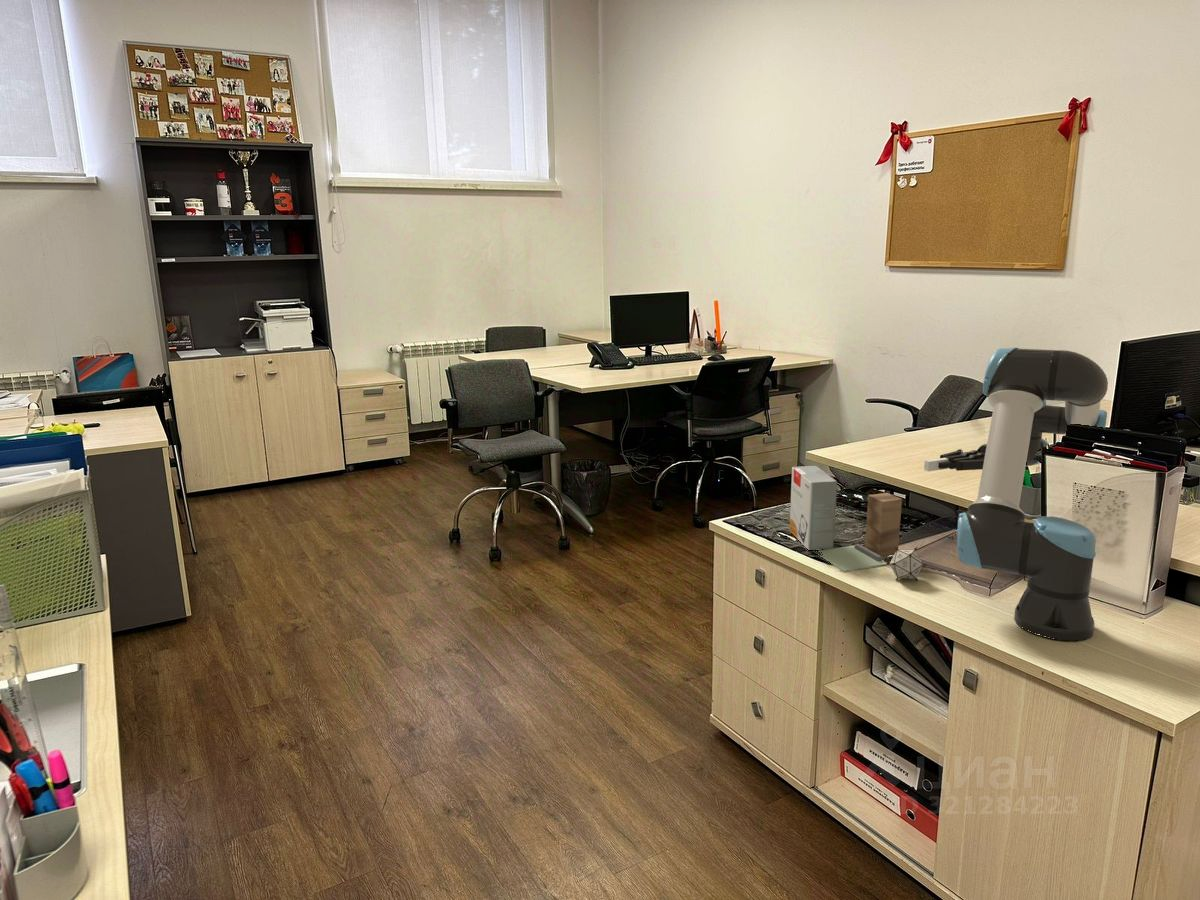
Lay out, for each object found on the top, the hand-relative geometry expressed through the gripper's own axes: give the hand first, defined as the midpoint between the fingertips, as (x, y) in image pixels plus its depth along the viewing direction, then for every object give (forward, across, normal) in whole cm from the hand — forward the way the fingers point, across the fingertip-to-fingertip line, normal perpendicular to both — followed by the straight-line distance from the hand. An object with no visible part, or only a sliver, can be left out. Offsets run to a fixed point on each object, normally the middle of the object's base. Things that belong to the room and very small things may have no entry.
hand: (926, 465), depth 216 cm
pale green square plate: (+23, -1, -23) cm, 32 cm away
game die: (+18, -17, -23) cm, 34 cm away
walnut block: (+13, -1, -23) cm, 26 cm away
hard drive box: (+25, +14, -23) cm, 37 cm away
